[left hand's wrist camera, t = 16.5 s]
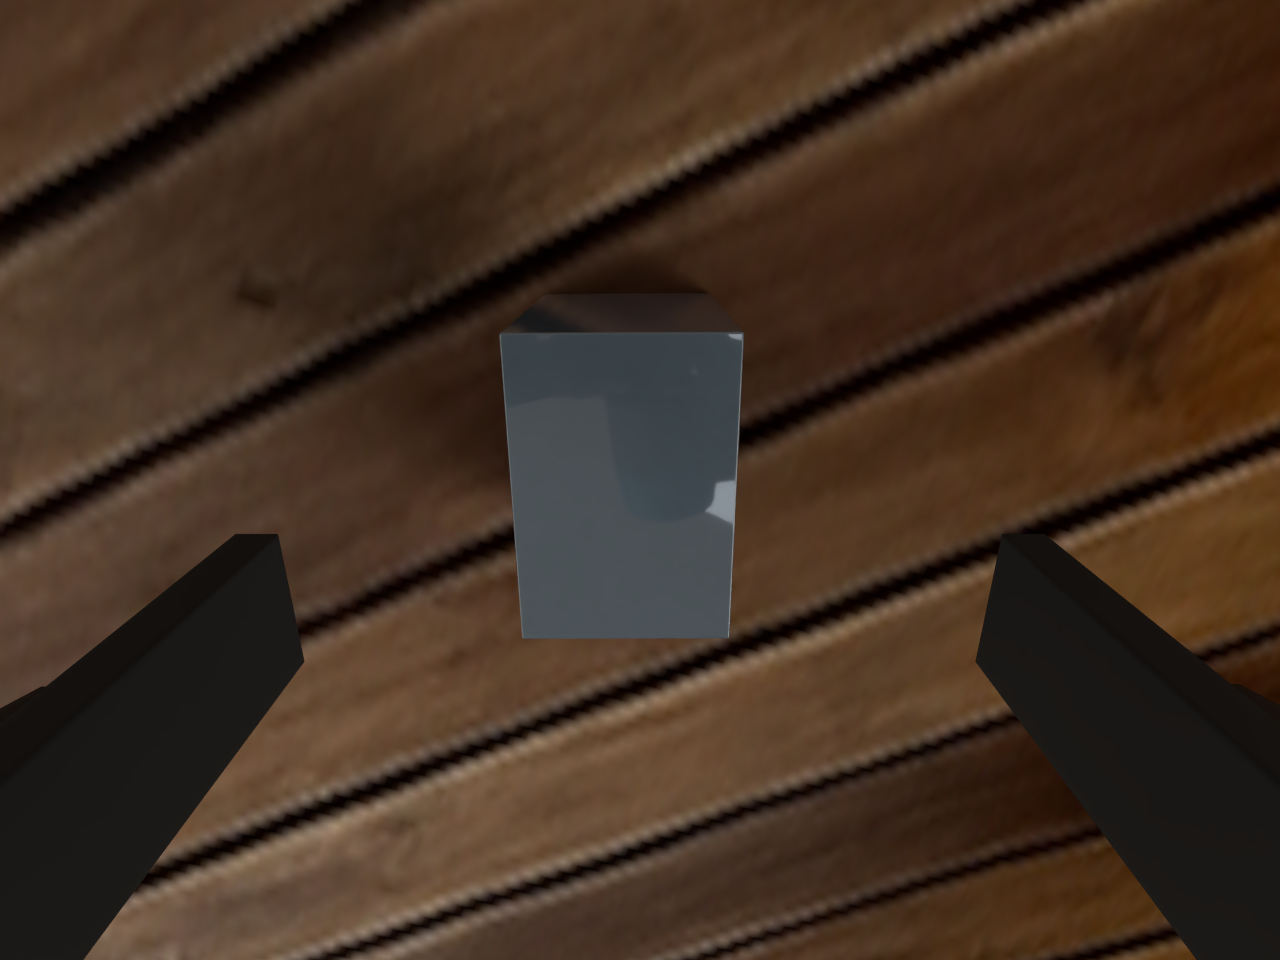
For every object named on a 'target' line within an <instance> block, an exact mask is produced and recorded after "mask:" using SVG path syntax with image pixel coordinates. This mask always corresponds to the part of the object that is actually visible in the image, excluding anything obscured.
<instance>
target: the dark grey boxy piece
mask: <svg viewBox="0 0 1280 960" xmlns="http://www.w3.org/2000/svg"><path fill="white" fill-rule="evenodd" d="M499 338H500V352H501V365H502V378H503V391H504V404H505V417H506V430H507V444H508V457H509V470H510V483H511V496H512V509H513V522H514V536H515V549H516V562H517V575H518V588H519V601H520V614H521V628H522V637H523V639H592V638H729V634H730V614H731V593H732V573H733V552H734V532H735V511H736V491H737V470H738V450H739V429H740V409H741V388H742V368H743V347H744V332H743V331H742V330H741V329H740V327H739V326H738V325H737V324H736V323H735V322H734V320H733V319H732V318H731V317H730V316H729V315H728V314H727V312H726V311H725V310H724V309H723V308H722V307H721V305H720V304H719V303H718V302H717V301H716V300H715V298H714V297H713V296H712V295H711V294H710V293H640V294H545V295H544V296H543V297H541V298H540V299H539V300H538V301H537V302H536V303H534V304H533V305H532V306H531V307H530V308H529V309H527V310H526V311H525V312H524V313H523V314H522V315H520V316H519V317H518V318H517V319H516V320H515V321H513V322H512V323H511V324H510V325H509V326H508V327H506V328H505V329H504V330H503V331H502V332H501V333H500V334H499Z"/></svg>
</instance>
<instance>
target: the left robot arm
mask: <svg viewBox="0 0 1280 960" xmlns="http://www.w3.org/2000/svg"><path fill="white" fill-rule="evenodd" d="M303 663H304V657H303V652H302V648H301V643H300V638H299V633H298V628H297V624H296V619H295V614H294V609H293V604H292V600H291V595H290V590H289V585H288V580H287V576H286V571H285V566H284V561H283V556H282V552H281V547H280V542H279V537H278V534H235V535H234V536H233V537H231V538H230V539H229V540H228V541H226V542H225V543H224V544H223V545H221V546H220V547H219V548H218V549H217V550H215V551H214V552H213V553H212V554H210V555H209V556H208V557H207V558H205V559H204V560H203V561H202V562H200V563H199V564H198V565H197V566H195V567H194V568H193V569H192V570H190V571H189V572H188V573H187V574H185V575H184V576H183V577H182V578H180V579H179V580H178V581H177V582H175V583H174V584H173V585H172V586H171V587H169V588H168V589H167V590H166V591H164V592H163V593H162V594H161V595H159V596H158V597H157V598H156V599H154V600H153V601H152V602H151V603H149V604H148V605H147V606H146V607H144V608H143V609H142V610H141V611H139V612H138V613H137V614H136V615H134V616H133V617H132V618H131V619H129V620H128V621H127V622H126V623H125V624H123V625H122V626H121V627H120V628H118V629H117V630H116V631H115V632H113V633H112V634H111V635H110V636H108V637H107V638H106V639H105V640H103V641H102V642H101V643H100V644H98V645H97V646H96V647H95V648H93V649H92V650H91V651H90V652H88V653H87V654H86V655H85V656H83V657H82V658H81V659H80V660H79V661H77V662H76V663H75V664H74V665H72V666H71V667H70V668H69V669H67V670H66V671H65V672H64V673H62V674H61V675H60V676H59V677H57V678H56V679H55V680H54V681H52V682H51V683H50V684H49V685H47V686H46V687H40V688H38V689H36V690H34V691H32V692H30V693H28V694H27V695H25V696H23V697H21V698H19V699H17V700H15V701H13V702H12V703H10V704H8V705H6V706H4V707H2V708H0V960H84V958H85V957H86V956H87V954H88V953H89V951H90V950H91V949H92V947H93V946H94V945H95V943H96V942H97V941H98V939H99V938H100V937H101V935H102V934H103V933H104V931H105V930H106V929H107V927H108V926H109V925H110V923H111V922H112V920H113V919H114V918H115V916H116V915H117V914H118V912H119V911H120V910H121V908H122V907H123V906H124V904H125V903H126V902H127V900H128V899H129V898H130V896H131V895H132V893H133V892H134V891H135V889H136V888H137V887H138V885H139V884H140V883H141V881H142V880H143V879H144V877H145V876H146V875H147V873H148V872H149V871H150V869H151V868H152V866H153V865H154V864H155V862H156V861H157V860H158V858H159V857H160V856H161V854H162V853H163V852H164V850H165V849H166V848H167V846H168V845H169V844H170V842H171V841H172V840H173V838H174V837H175V835H176V834H177V833H178V831H179V830H180V829H181V827H182V826H183V825H184V823H185V822H186V821H187V819H188V818H189V817H190V815H191V814H192V813H193V811H194V810H195V808H196V807H197V806H198V804H199V803H200V802H201V800H202V799H203V798H204V796H205V795H206V794H207V792H208V791H209V790H210V788H211V787H212V786H213V784H214V783H215V782H216V780H217V779H218V777H219V776H220V775H221V773H222V772H223V771H224V769H225V768H226V767H227V765H228V764H229V763H230V761H231V760H232V759H233V757H234V756H235V755H236V753H237V752H238V750H239V749H240V748H241V746H242V745H243V744H244V742H245V741H246V740H247V738H248V737H249V736H250V734H251V733H252V732H253V730H254V729H255V728H256V726H257V725H258V724H259V722H260V721H261V719H262V718H263V717H264V715H265V714H266V713H267V711H268V710H269V709H270V707H271V706H272V705H273V703H274V702H275V701H276V699H277V698H278V697H279V695H280V694H281V692H282V691H283V690H284V688H285V687H286V686H287V684H288V683H289V682H290V680H291V679H292V678H293V676H294V675H295V674H296V672H297V671H298V670H299V668H300V667H301V666H302V664H303ZM976 663H977V664H978V666H979V667H980V668H981V670H982V671H983V672H984V674H985V675H986V676H987V678H988V679H989V680H990V682H991V683H992V684H993V686H994V687H995V688H996V690H997V691H998V692H999V694H1000V695H1001V697H1002V698H1003V699H1004V701H1005V702H1006V703H1007V705H1008V706H1009V707H1010V709H1011V710H1012V711H1013V713H1014V714H1015V715H1016V717H1017V718H1018V719H1019V721H1020V722H1021V724H1022V725H1023V726H1024V728H1025V729H1026V730H1027V732H1028V733H1029V734H1030V736H1031V737H1032V738H1033V740H1034V741H1035V742H1036V744H1037V745H1038V746H1039V748H1040V749H1041V750H1042V752H1043V753H1044V755H1045V756H1046V757H1047V759H1048V760H1049V761H1050V763H1051V764H1052V765H1053V767H1054V768H1055V769H1056V771H1057V772H1058V773H1059V775H1060V776H1061V777H1062V779H1063V780H1064V782H1065V783H1066V784H1067V786H1068V787H1069V788H1070V790H1071V791H1072V792H1073V794H1074V795H1075V796H1076V798H1077V799H1078V800H1079V802H1080V803H1081V804H1082V806H1083V807H1084V808H1085V810H1086V811H1087V813H1088V814H1089V815H1090V817H1091V818H1092V819H1093V821H1094V822H1095V823H1096V825H1097V826H1098V827H1099V829H1100V830H1101V831H1102V833H1103V834H1104V835H1105V837H1106V838H1107V840H1108V841H1109V842H1110V844H1111V845H1112V846H1113V848H1114V849H1115V850H1116V852H1117V853H1118V854H1119V856H1120V857H1121V858H1122V860H1123V861H1124V862H1125V864H1126V865H1127V866H1128V868H1129V869H1130V871H1131V872H1132V873H1133V875H1134V876H1135V877H1136V879H1137V880H1138V881H1139V883H1140V884H1141V885H1142V887H1143V888H1144V889H1145V891H1146V892H1147V893H1148V895H1149V896H1150V898H1151V899H1152V900H1153V902H1154V903H1155V904H1156V906H1157V907H1158V908H1159V910H1160V911H1161V912H1162V914H1163V915H1164V916H1165V918H1166V919H1167V920H1168V922H1169V923H1170V925H1171V926H1172V927H1173V929H1174V930H1175V931H1176V933H1177V934H1178V935H1179V937H1180V938H1181V939H1182V941H1183V942H1184V943H1185V945H1186V946H1187V947H1188V949H1189V950H1190V951H1191V953H1192V954H1193V956H1194V957H1195V958H1196V960H1280V705H1278V704H1276V703H1274V702H1272V701H1270V700H1268V699H1267V698H1265V697H1263V696H1261V695H1259V694H1257V693H1255V692H1253V691H1251V690H1250V689H1248V688H1246V687H1244V686H1242V685H1240V684H1230V683H1229V682H1228V681H1226V680H1225V679H1224V678H1223V677H1221V676H1220V675H1219V674H1218V673H1216V672H1215V671H1214V670H1213V669H1211V668H1210V667H1209V666H1208V665H1206V664H1205V663H1204V662H1203V661H1201V660H1200V659H1199V658H1198V657H1197V656H1195V655H1194V654H1193V653H1192V652H1190V651H1189V650H1188V649H1187V648H1185V647H1184V646H1183V645H1182V644H1180V643H1179V642H1178V641H1177V640H1175V639H1174V638H1173V637H1172V636H1170V635H1169V634H1168V633H1167V632H1165V631H1164V630H1163V629H1162V628H1160V627H1159V626H1158V625H1157V624H1155V623H1154V622H1153V621H1152V620H1151V619H1149V618H1148V617H1147V616H1146V615H1144V614H1143V613H1142V612H1141V611H1139V610H1138V609H1137V608H1136V607H1134V606H1133V605H1132V604H1131V603H1129V602H1128V601H1127V600H1126V599H1124V598H1123V597H1122V596H1121V595H1119V594H1118V593H1117V592H1116V591H1114V590H1113V589H1112V588H1111V587H1109V586H1108V585H1107V584H1106V583H1105V582H1103V581H1102V580H1101V579H1100V578H1098V577H1097V576H1096V575H1095V574H1093V573H1092V572H1091V571H1090V570H1088V569H1087V568H1086V567H1085V566H1083V565H1082V564H1081V563H1080V562H1078V561H1077V560H1076V559H1075V558H1073V557H1072V556H1071V555H1070V554H1068V553H1067V552H1066V551H1065V550H1063V549H1062V548H1061V547H1060V546H1059V545H1057V544H1056V543H1055V542H1054V541H1052V540H1051V539H1050V538H1049V537H1047V536H1046V535H1045V534H1002V537H1001V542H1000V547H999V552H998V556H997V561H996V566H995V571H994V576H993V580H992V585H991V590H990V595H989V600H988V604H987V609H986V614H985V619H984V624H983V628H982V633H981V638H980V643H979V648H978V652H977V657H976Z"/></svg>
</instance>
